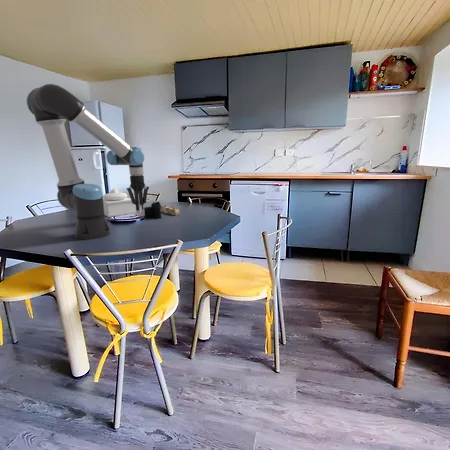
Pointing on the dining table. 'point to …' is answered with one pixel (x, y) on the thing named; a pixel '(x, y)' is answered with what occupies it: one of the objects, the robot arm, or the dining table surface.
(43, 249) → the dining table surface
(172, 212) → the oak ledge rail
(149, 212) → the film camera
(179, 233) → the dining table surface
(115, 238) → the dining table surface
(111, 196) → the white lidded box
